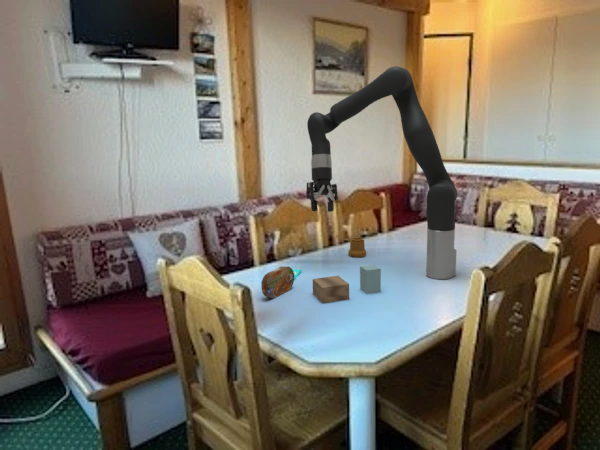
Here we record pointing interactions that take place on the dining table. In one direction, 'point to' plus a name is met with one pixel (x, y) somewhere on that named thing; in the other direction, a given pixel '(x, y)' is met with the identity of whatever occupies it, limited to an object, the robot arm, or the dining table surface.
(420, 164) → the robot arm
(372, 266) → the teal block
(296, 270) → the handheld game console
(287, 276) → the tin
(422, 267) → the dining table surface
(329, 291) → the walnut plinth
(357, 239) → the ornamental finial
